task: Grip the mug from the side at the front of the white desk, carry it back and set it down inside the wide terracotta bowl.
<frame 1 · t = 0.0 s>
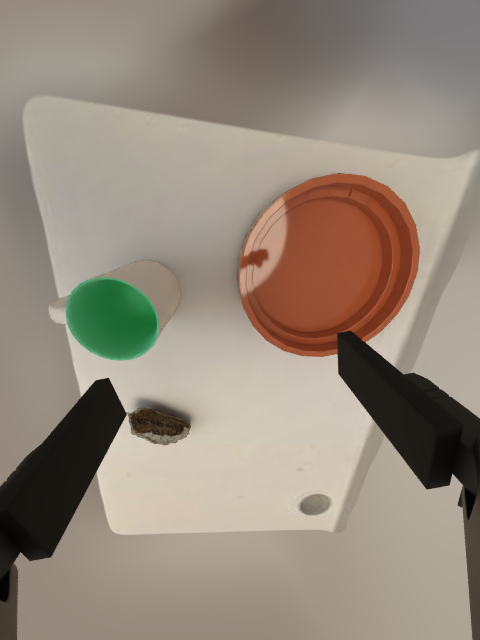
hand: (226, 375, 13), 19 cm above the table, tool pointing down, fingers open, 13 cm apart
bowl: (315, 271, 31), on the table
mug: (134, 292, 31), on the table
rock sample: (164, 420, 39), on the table
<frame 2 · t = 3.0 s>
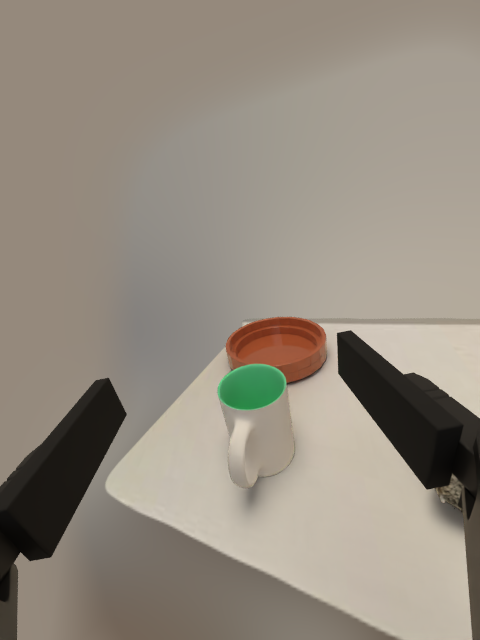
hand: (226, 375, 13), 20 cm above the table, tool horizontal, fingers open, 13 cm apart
bowl: (276, 355, 51), on the table
mug: (261, 461, 29), on the table
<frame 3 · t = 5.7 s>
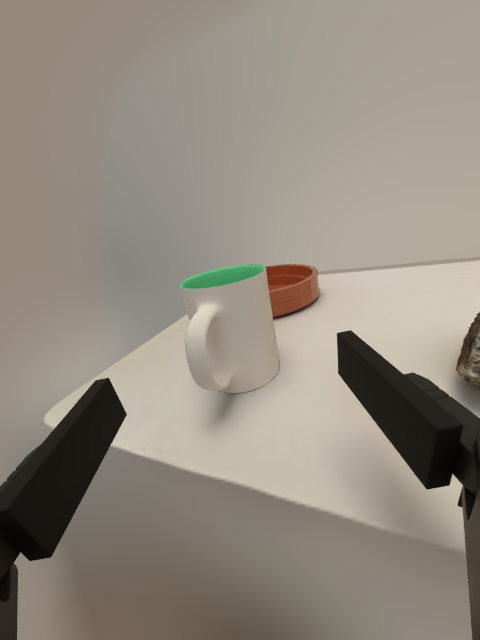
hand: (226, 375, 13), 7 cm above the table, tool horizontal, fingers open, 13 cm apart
bowl: (263, 300, 45), on the table
mug: (238, 380, 24), on the table
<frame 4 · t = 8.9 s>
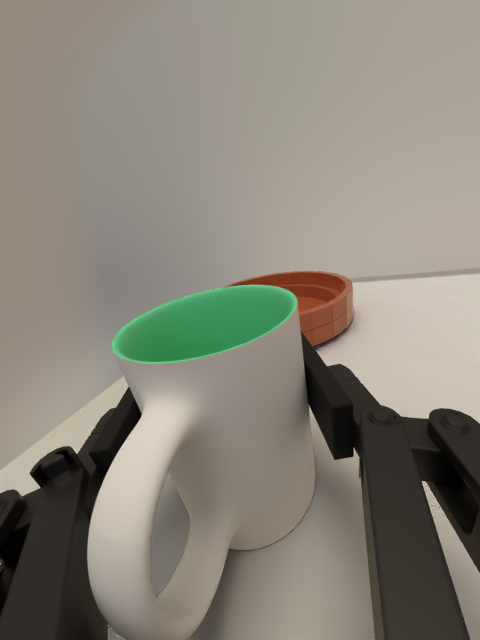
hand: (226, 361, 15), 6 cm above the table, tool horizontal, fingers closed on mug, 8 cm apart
bowl: (274, 319, 34), on the table
mug: (241, 503, 13), on the table, touching gripper
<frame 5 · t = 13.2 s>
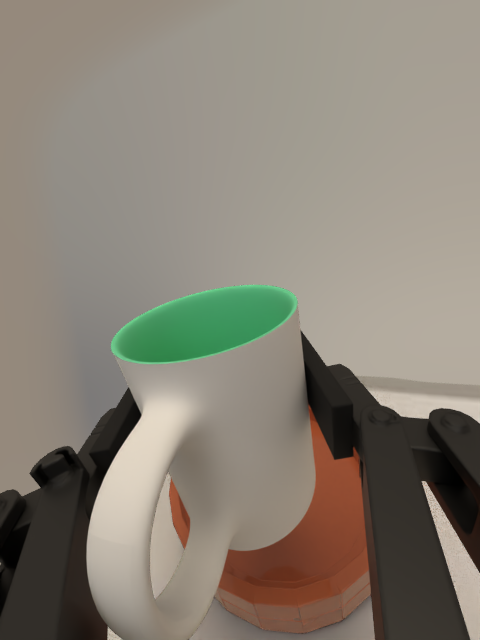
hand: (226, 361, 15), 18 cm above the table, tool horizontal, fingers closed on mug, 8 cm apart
bowl: (277, 479, 25), on the table
mug: (241, 503, 13), point 12 cm above the table, touching gripper
when the fingers open (7 cm above the table, at t = 18.0 s): mug stays where it is, resting on bowl.
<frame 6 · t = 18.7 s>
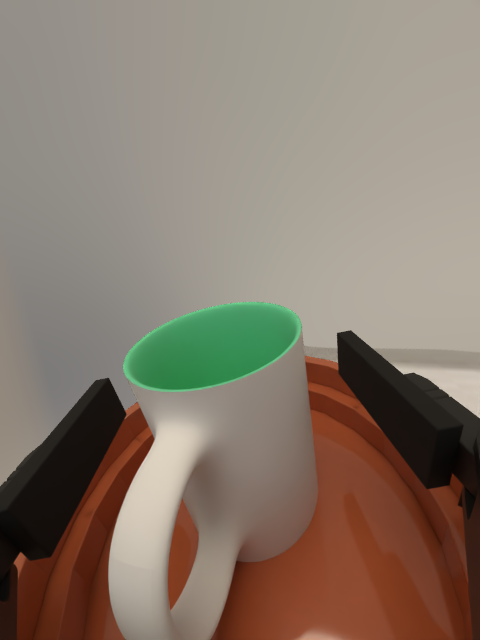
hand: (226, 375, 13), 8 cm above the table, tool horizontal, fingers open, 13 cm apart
bowl: (256, 519, 13), on the table
mug: (246, 514, 13), resting on bowl
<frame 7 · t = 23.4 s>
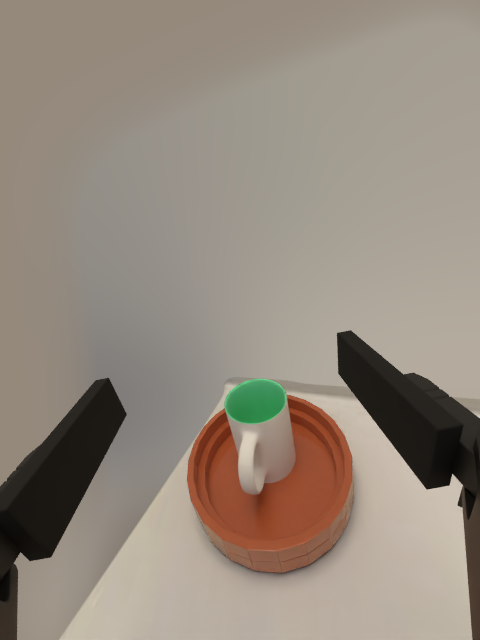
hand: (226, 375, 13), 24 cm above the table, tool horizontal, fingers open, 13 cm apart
bowl: (269, 471, 32), on the table
mug: (266, 468, 32), resting on bowl
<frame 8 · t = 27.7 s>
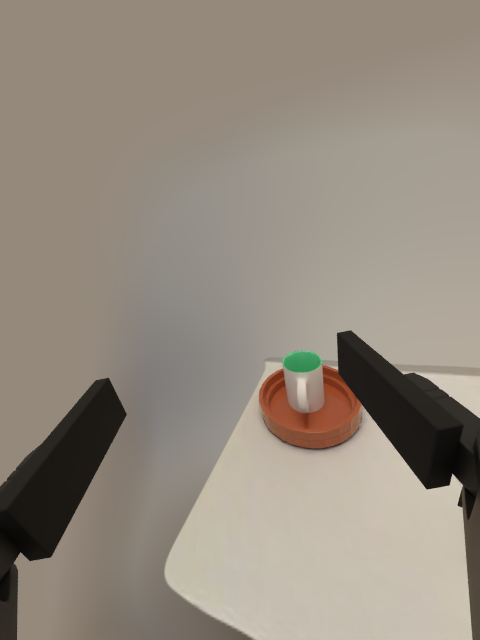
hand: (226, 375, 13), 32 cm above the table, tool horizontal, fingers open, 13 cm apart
bowl: (308, 407, 51), on the table
mug: (306, 406, 51), resting on bowl
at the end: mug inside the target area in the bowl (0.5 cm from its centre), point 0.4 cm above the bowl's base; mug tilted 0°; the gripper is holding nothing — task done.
